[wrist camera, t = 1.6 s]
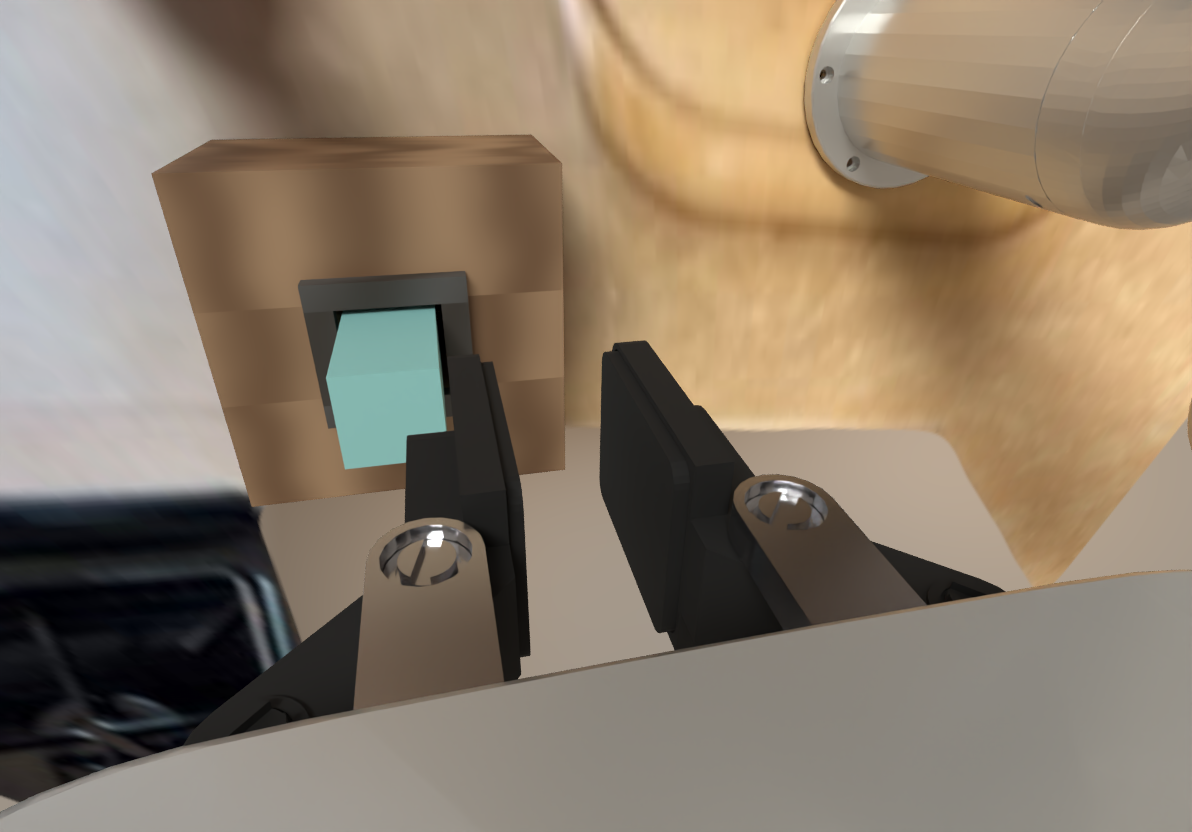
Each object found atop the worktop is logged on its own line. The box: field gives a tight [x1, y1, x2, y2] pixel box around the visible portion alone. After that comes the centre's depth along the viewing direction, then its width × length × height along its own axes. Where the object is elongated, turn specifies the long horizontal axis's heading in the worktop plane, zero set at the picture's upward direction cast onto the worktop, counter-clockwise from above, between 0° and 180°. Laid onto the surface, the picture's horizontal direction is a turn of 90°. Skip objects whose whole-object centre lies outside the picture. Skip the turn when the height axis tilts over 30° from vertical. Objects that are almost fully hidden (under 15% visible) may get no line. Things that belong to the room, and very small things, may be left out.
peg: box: [326, 304, 447, 469], centre depth 30 cm, size 4×4×10 cm
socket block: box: [152, 135, 565, 507], centre depth 35 cm, size 16×16×10 cm
